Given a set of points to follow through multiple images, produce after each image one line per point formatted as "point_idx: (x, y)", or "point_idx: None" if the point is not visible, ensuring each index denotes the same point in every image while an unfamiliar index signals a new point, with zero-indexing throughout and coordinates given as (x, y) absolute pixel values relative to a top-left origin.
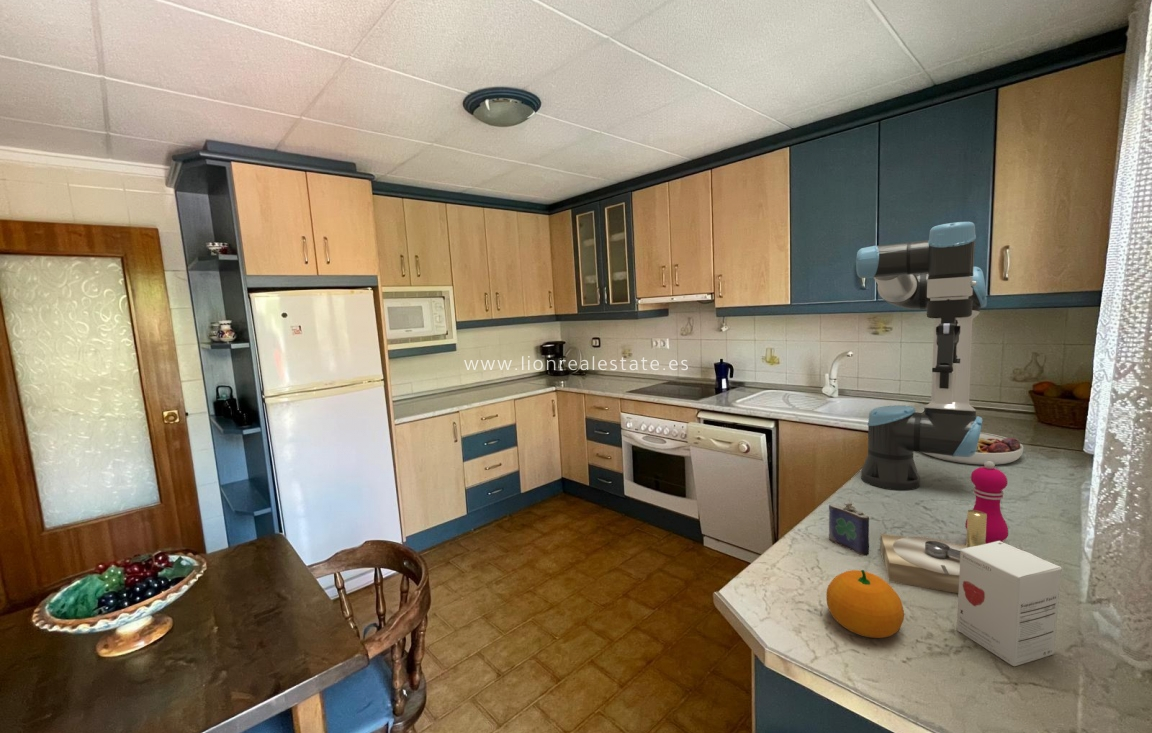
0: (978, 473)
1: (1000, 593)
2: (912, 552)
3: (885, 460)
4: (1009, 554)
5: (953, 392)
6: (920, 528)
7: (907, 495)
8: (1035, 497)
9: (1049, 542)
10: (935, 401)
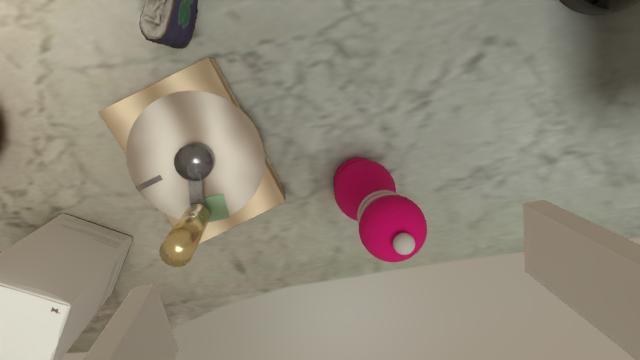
0: (374, 221)
1: None
2: (170, 127)
3: None
4: (18, 329)
5: (526, 264)
6: (364, 83)
7: (527, 10)
8: (636, 192)
9: (439, 239)
10: (128, 295)
